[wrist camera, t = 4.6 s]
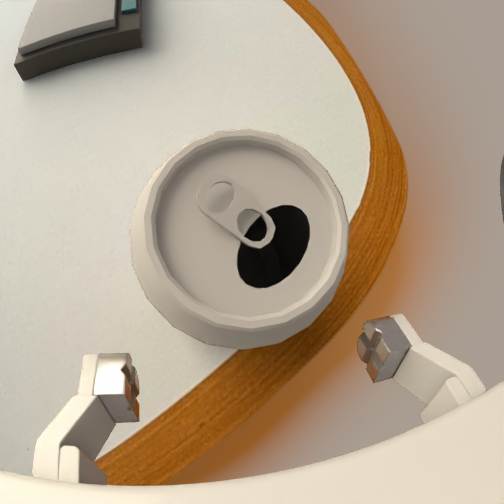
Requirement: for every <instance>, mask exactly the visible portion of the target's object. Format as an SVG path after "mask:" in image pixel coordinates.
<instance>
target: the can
mask: <svg viewBox="0 0 504 504" xmlns="http://www.w3.org/2000/svg"><path fill="white" fill-rule="evenodd" d="M129 231H130V245H131V257H132V266H133V268H134V271H135V273H136V275H137V278H138V280H139V282H140V284H141V287H142V289H143V291H144V293H145V295H146V298H147V299H148V300H149V302H150V303H151V304H152V305H153V306H154V307H155V308H156V309H157V310H158V311H159V312H160V313H161V315H162V316H163V317H164V318H165V319H166V320H167V321H168V322H169V323H170V324H171V325H172V326H173V327H175V328H177V329H178V330H180V331H182V332H184V333H186V334H188V335H190V336H192V337H194V338H195V339H197V340H199V341H201V342H203V343H205V344H209V345H215V346H221V347H228V348H234V349H241V350H245V349H250V348H256V347H262V346H267V345H272V344H277V343H280V342H282V341H284V340H286V339H287V338H289V337H291V336H293V335H295V334H296V333H298V332H300V331H302V330H303V329H305V328H307V327H309V326H310V325H311V324H312V323H313V321H314V320H315V319H316V318H317V317H318V316H319V315H320V314H321V312H322V311H323V310H324V309H325V308H326V307H327V306H328V304H329V303H330V302H331V301H332V299H333V297H334V294H335V292H336V290H337V287H338V285H339V283H340V280H341V278H342V275H343V273H344V271H345V261H346V258H347V251H348V238H349V223H348V219H347V214H346V210H345V206H344V202H343V198H342V196H341V194H340V192H339V190H338V188H337V187H336V185H335V183H334V181H333V180H332V178H331V176H330V175H329V173H328V171H327V170H326V169H325V168H324V167H323V166H322V165H321V164H320V163H319V162H318V161H317V160H316V159H315V158H314V157H313V156H312V155H311V154H309V153H308V152H307V151H306V150H305V149H303V148H301V147H300V146H298V145H296V144H294V143H292V142H290V141H288V140H287V139H285V138H283V137H281V136H279V135H275V134H270V133H266V132H262V131H257V130H253V129H238V130H222V131H217V132H215V133H212V134H209V135H206V136H203V137H201V138H198V139H195V140H193V141H191V142H189V143H188V144H187V145H185V146H184V147H183V148H181V149H180V150H179V151H177V152H176V153H175V154H174V155H172V156H171V157H170V158H168V159H167V160H166V162H165V163H163V164H162V165H161V166H160V167H159V168H157V169H156V171H155V172H154V173H153V175H152V176H151V178H150V179H149V181H148V182H147V184H146V186H145V187H144V189H143V190H142V192H141V193H140V195H139V196H138V199H137V203H136V206H135V210H134V214H133V218H132V222H131V226H130V230H129Z"/></svg>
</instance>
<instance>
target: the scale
mask: <svg viewBox="0 0 504 504" xmlns="http://www.w3.org/2000/svg"><path fill="white" fill-rule="evenodd" d="M142 46H143V45H142V22H141V0H36V2H35V5H34V7H33V9H32V12H31V14H30V17H29V19H28V22H27V24H26V27H25V30H24V33H23V35H22V38H21V41H20V44H19V47H18V53H17V57H16V60H15V63H14V66H15V68H16V70H17V71H18V73H19V75H20V77H21V78H22V80H23V81H24V80H26V79H29V78H32V77H34V76H37V75H40V74H43V73H46V72H49V71H51V70H55V69H58V68H61V67H64V66H67V65H70V64H74V63H77V62H81V61H84V60H88V59H92V58H96V57H100V56H104V55H108V54H112V53H117V52H121V51H126V50H131V49H136V48H141V47H142Z"/></svg>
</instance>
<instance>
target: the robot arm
mask: <svg viewBox="0 0 504 504" xmlns="http://www.w3.org/2000/svg"><path fill="white" fill-rule="evenodd" d="M362 329H363V330H364V332H363V333H362V334H361V335H360V337H359V339H358V342H357V351H358V354H359V356H360V358H361V360H362V361H364V362H365V363H367V369H366V370H367V371H368V373H369V375H370V377H371V379H372V381H373V383H375V382H379V381H383V380H386V379H390V378H392V379H393V380H394V381H396V382H397V383H398V384H400V385H401V386H402V387H404V388H405V389H406V390H408V391H409V392H410V393H412V394H413V395H414V396H416V397H417V398H418V399H420V400H421V401H422V402H424V403H425V404H426V407H425V408H424V409H423V410H422V411H421V413H420V418H421V420H422V422H423V424H422V425H420V426H418V427H416V428H413V429H411V430H409V431H406V432H404V433H402V434H399V435H397V436H394V437H392V438H389V439H387V440H384V441H382V442H379V443H376V444H373V445H370V446H368V447H365V448H362V449H359V450H356V451H353V452H350V453H347V454H343V455H341V456H337V457H334V458H330V459H327V460H323V461H320V462H316V463H312V464H308V465H304V466H300V467H296V468H292V469H287V470H283V471H278V472H273V473H268V474H263V475H258V476H252V477H245V478H239V479H232V480H225V481H217V482H207V483H197V484H184V485H165V486H114V485H107V475H106V474H105V473H104V472H103V471H102V470H101V469H100V468H99V467H98V466H97V465H95V464H94V463H93V462H94V460H95V459H96V457H97V455H98V454H99V452H100V450H101V448H102V447H103V445H104V443H105V442H106V440H107V438H108V437H109V435H110V433H111V432H112V430H113V428H114V427H115V425H116V423H123V422H139V403H138V401H137V399H136V397H137V396H138V395H139V381H138V375H137V371H136V369H135V367H133V366H132V359H131V356H130V354H129V353H114V354H86V355H85V356H84V358H83V364H82V370H81V376H80V383H79V390H78V395H74V396H73V397H72V398H71V399H70V400H69V402H68V403H67V404H66V405H65V406H64V408H63V409H62V410H61V411H60V412H59V414H58V415H57V416H56V417H55V419H54V420H53V421H52V422H51V423H50V425H49V426H48V427H47V428H46V429H45V431H44V432H43V433H42V434H41V436H40V437H39V438H38V439H37V441H36V445H35V453H34V462H33V473H32V476H26V475H21V474H17V473H12V472H7V471H3V470H0V504H504V381H502V382H500V383H499V384H497V385H496V386H494V387H493V388H491V389H489V390H487V389H486V388H485V386H484V385H483V383H482V382H481V380H480V379H479V377H478V376H477V374H476V373H475V371H474V370H473V369H472V367H470V366H468V365H467V364H465V363H463V362H461V361H460V360H458V359H456V358H454V357H452V356H450V355H448V354H447V353H445V352H443V351H441V350H439V349H438V348H436V347H434V346H432V345H430V344H429V343H427V342H426V343H423V342H422V340H421V339H420V337H419V336H418V335H417V333H416V332H415V330H414V329H413V327H412V326H411V325H410V323H409V322H408V321H407V319H406V318H405V317H404V315H402V314H396V315H392V316H386V317H382V318H378V319H373V320H369V321H366V323H364V325H363V328H362Z"/></svg>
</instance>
